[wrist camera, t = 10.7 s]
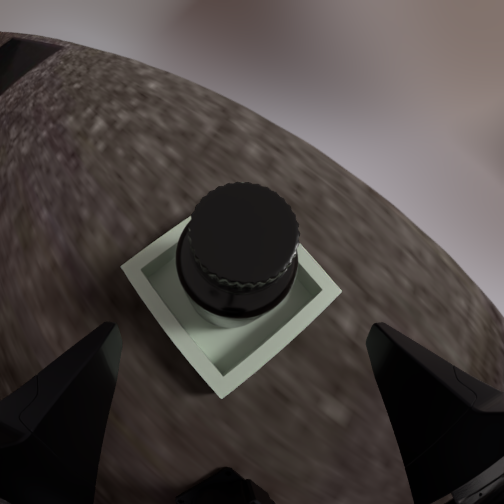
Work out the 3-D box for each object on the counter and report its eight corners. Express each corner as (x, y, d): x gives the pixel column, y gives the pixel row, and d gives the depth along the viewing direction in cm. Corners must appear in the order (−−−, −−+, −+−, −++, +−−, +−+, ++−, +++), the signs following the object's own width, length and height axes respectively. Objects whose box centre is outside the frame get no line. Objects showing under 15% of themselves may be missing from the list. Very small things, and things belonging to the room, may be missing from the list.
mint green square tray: (220, 392, 20) (221, 399, 17) (130, 276, 22) (120, 266, 19) (328, 298, 24) (342, 291, 21) (239, 199, 26) (242, 182, 23)
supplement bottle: (176, 314, 21) (135, 276, 10) (203, 239, 24) (196, 146, 13) (258, 340, 21) (303, 329, 10) (279, 263, 24) (331, 188, 13)
